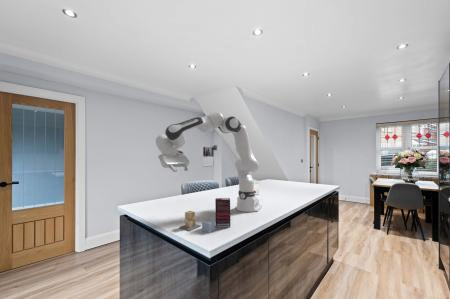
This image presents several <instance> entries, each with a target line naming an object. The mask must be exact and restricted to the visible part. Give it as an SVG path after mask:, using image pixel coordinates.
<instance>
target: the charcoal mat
mask: <svg viewBox="0 0 450 299" xmlns="http://www.w3.org/2000/svg"><path fill="white" fill-rule="evenodd" d="M200 227H202V224H201V225H200V224H197V223H195V226H193V227H191V228H189V227H185V224H183V225H180V226H179V229H181V230H184V231H187V232H191V231H193V230H195V229H197V228H200Z"/></svg>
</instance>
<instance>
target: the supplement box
mask: <svg viewBox="0 0 450 299" xmlns="http://www.w3.org/2000/svg"><path fill="white" fill-rule="evenodd" d="M214 204H215V205H214V206H215V229H216V228H217V229H218V228H231V199H230V197H220V198H219V197H216V198H215V202H214Z"/></svg>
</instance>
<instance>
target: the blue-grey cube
mask: <svg viewBox="0 0 450 299" xmlns="http://www.w3.org/2000/svg"><path fill="white" fill-rule="evenodd" d="M215 231H216V220H212V219H207V220H202V222H201V232H203V233H208V234H210V233H212V232H215Z"/></svg>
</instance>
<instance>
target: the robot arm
mask: <svg viewBox="0 0 450 299" xmlns="http://www.w3.org/2000/svg"><path fill="white" fill-rule="evenodd" d="M194 128H195V129H198V130H199V131H200V132H202V133H207V134H208V133H209V132H212V131H214V130H215V129H217V128H218V130H219V131H220V132H221V133H223V134H231V133H232V135H233V137H234V144H235V149H236V150H235V151H236V153H237V154H238V156H239V158H238V159H237V160H236V161H235V163H234V167H235V169H236V173H237V176H238V191H237V192H238V193H237V194H238V197H237V198H236V200H237V201H236V205H235V209H236V210H237V211H239V212H243V213H251V212H252V213H253V212H259V211H260V210H261V209H262V208H263V205H262V204H260V199H259V198H258V197H257V196H256V194H257V190H255V189H254V188H255V183H254V182H255V181H254V178H253V176H252V173H256V172H257V171H258V170H259V168H260V163H259V161H258V160H257V159H256V157H255V155H254V152H253V150H252V146H251V145H252V144H251V141H250V136H249V133H248V129H247V127H246V126H245V125H243V124H242V123H241V121H240V120H239V119H238V117H236V116H231V115H230V116H229V117H225V116H224V115H223V114H222V113H221V112H220V111H215V112H211V113H208V114H207V115H205V116H202V117H199V116H196V117H192V118H190V119H188V120H185V121H182V122H178V123H173V124H170V125H169V126H167V127H166V129H165V131H164V132H165V134H159V135H158V136H157V137H156V139H155V144H156V147H157V149H158V150H159V152H161V154H159V155H158V156H157V157H158V159H159V162H160V164H161V166H162V167H163V168H164V169H165V168H166V169H170V170H171V171H172V172H173V173H176V172H177V171H178V169H177V168H181V167H183V168H184V169H183V170H184V171H185V172H187V171H189V168H188V166H189V164H190V160H189V158H188V157H187V156H186V155H185V154H184V151H183V150H178V149H180V148H182V147H183V146H184V145H185V138H184V135H183V133H184V132H187V131H189V130H191V129H194Z"/></svg>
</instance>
